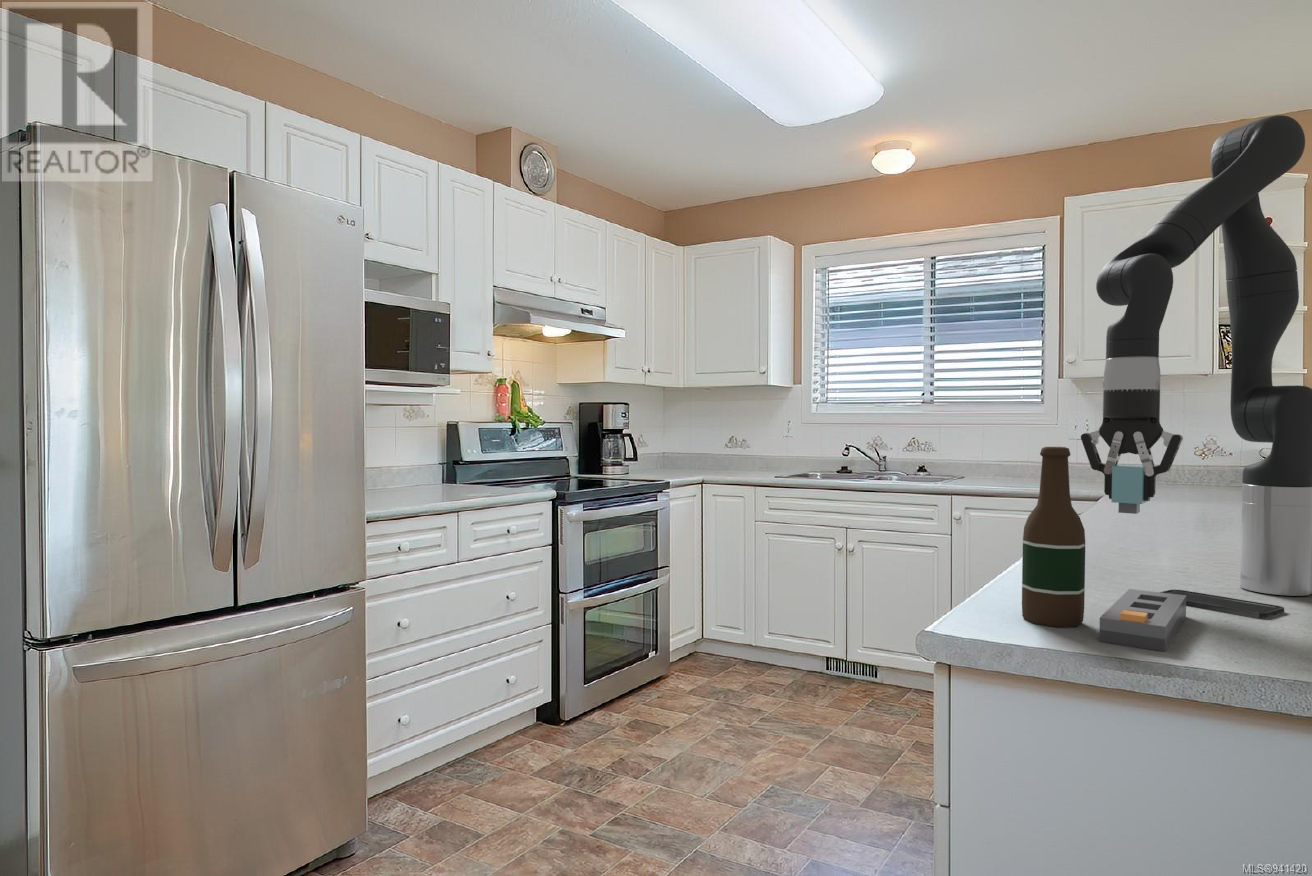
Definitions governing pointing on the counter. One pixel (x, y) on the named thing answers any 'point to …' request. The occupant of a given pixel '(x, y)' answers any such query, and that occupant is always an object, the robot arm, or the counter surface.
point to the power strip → (1143, 619)
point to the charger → (1128, 487)
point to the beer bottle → (1054, 550)
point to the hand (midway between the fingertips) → (1129, 499)
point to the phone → (1229, 605)
